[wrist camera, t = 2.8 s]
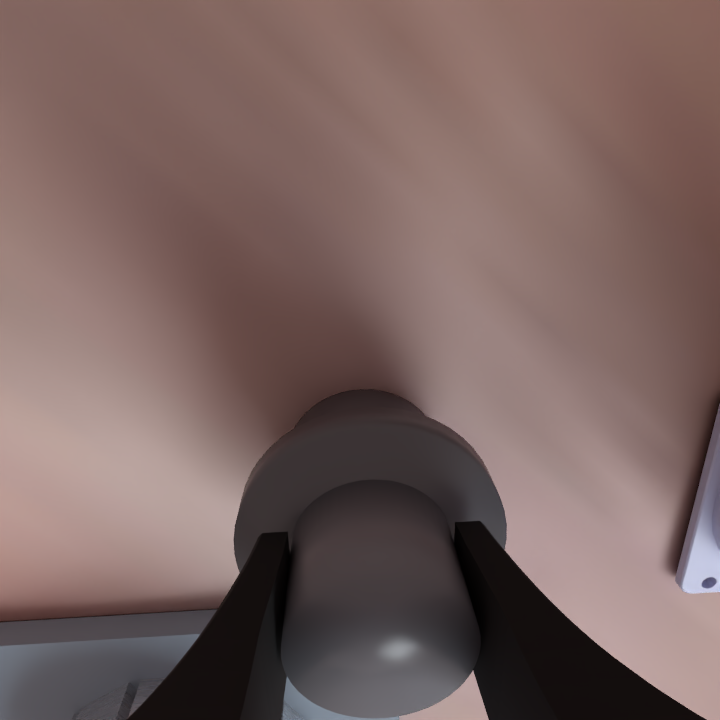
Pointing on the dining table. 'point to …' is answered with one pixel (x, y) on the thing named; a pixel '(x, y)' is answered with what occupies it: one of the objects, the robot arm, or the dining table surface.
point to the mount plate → (101, 662)
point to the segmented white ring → (138, 703)
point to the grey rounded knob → (372, 552)
